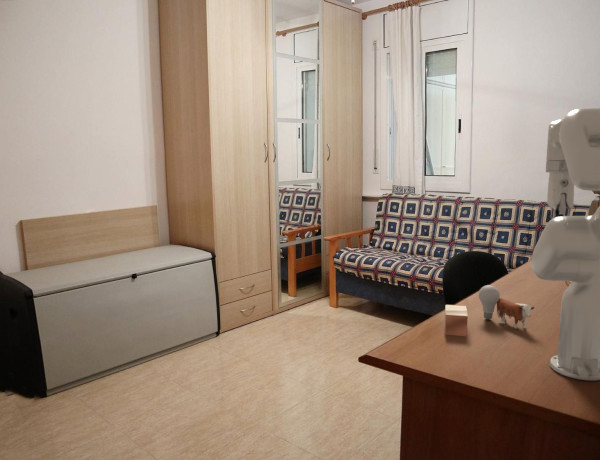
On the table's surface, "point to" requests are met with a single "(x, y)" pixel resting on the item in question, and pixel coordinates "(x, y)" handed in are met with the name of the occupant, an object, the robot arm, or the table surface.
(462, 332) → the birch block
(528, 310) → the bull figurine
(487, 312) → the lightbulb
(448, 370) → the table surface
